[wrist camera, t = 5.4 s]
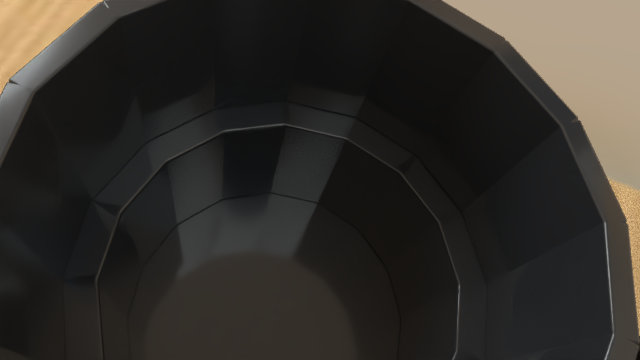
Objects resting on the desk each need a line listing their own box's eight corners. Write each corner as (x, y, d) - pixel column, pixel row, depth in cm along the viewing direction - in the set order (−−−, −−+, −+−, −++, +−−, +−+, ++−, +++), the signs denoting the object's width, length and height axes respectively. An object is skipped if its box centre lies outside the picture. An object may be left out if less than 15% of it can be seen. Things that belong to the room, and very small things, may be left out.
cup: (438, 205, 21) (611, 35, 12) (415, 546, 16) (676, 695, 7) (149, 140, 20) (97, -101, 11) (31, 484, 15) (-240, 564, 6)
